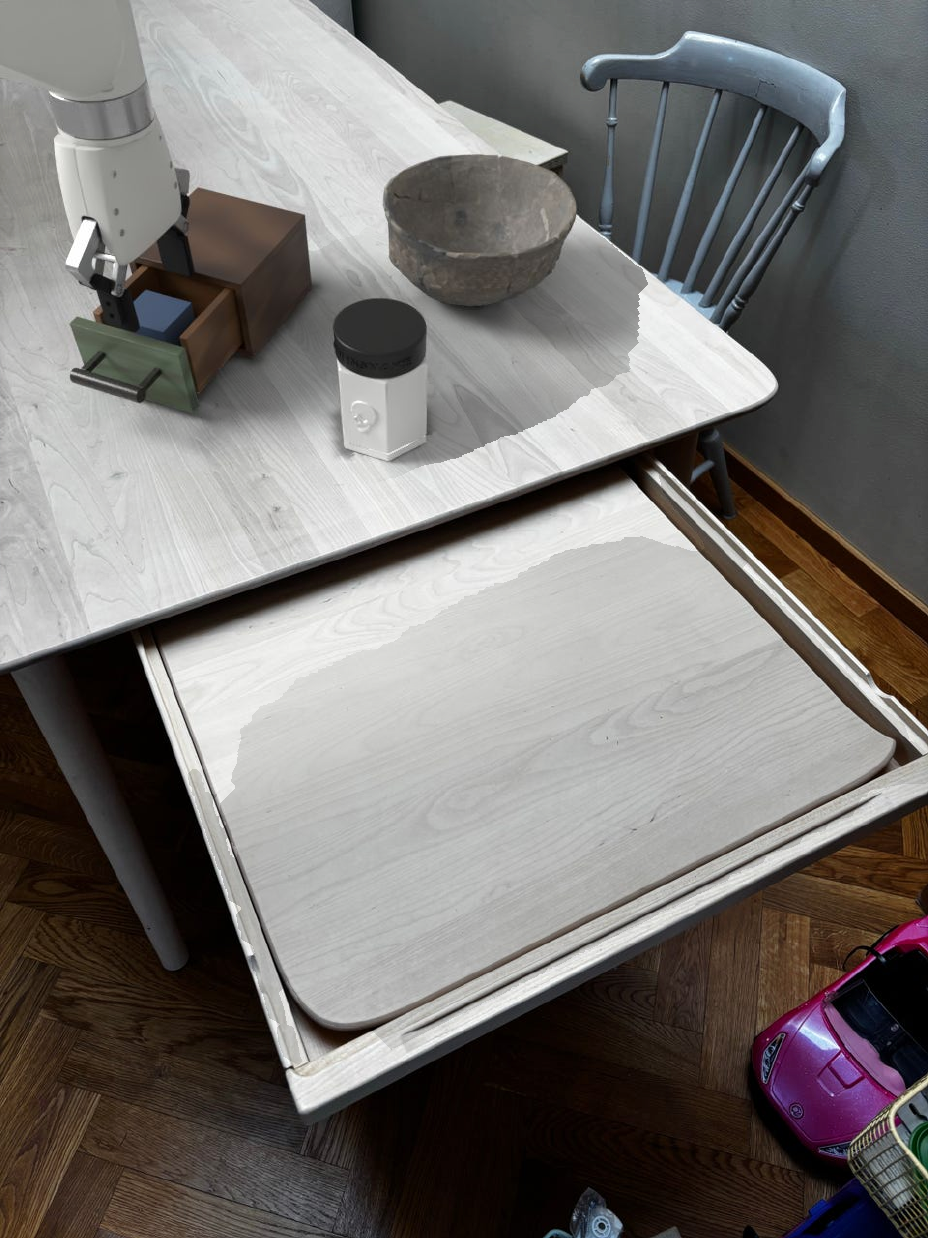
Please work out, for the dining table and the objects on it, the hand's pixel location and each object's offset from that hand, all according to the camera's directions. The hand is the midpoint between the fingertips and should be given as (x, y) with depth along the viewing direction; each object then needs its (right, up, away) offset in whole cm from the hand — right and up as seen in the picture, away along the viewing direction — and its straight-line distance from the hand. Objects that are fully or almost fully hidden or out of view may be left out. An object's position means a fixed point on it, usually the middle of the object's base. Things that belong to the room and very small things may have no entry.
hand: (152, 298), depth 85 cm
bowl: (+30, +8, +19) cm, 36 cm away
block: (0, -4, +5) cm, 7 cm away
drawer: (-1, -5, +6) cm, 8 cm away
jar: (+21, -12, +4) cm, 24 cm away
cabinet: (+4, +4, +14) cm, 15 cm away
